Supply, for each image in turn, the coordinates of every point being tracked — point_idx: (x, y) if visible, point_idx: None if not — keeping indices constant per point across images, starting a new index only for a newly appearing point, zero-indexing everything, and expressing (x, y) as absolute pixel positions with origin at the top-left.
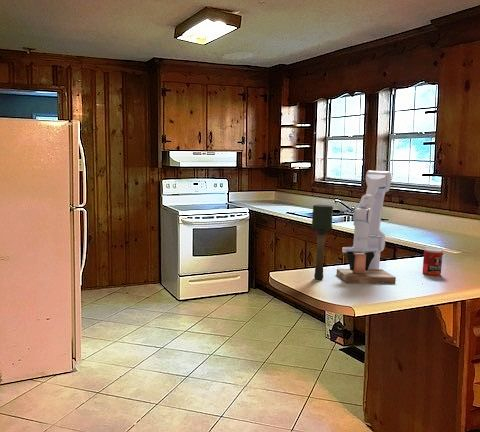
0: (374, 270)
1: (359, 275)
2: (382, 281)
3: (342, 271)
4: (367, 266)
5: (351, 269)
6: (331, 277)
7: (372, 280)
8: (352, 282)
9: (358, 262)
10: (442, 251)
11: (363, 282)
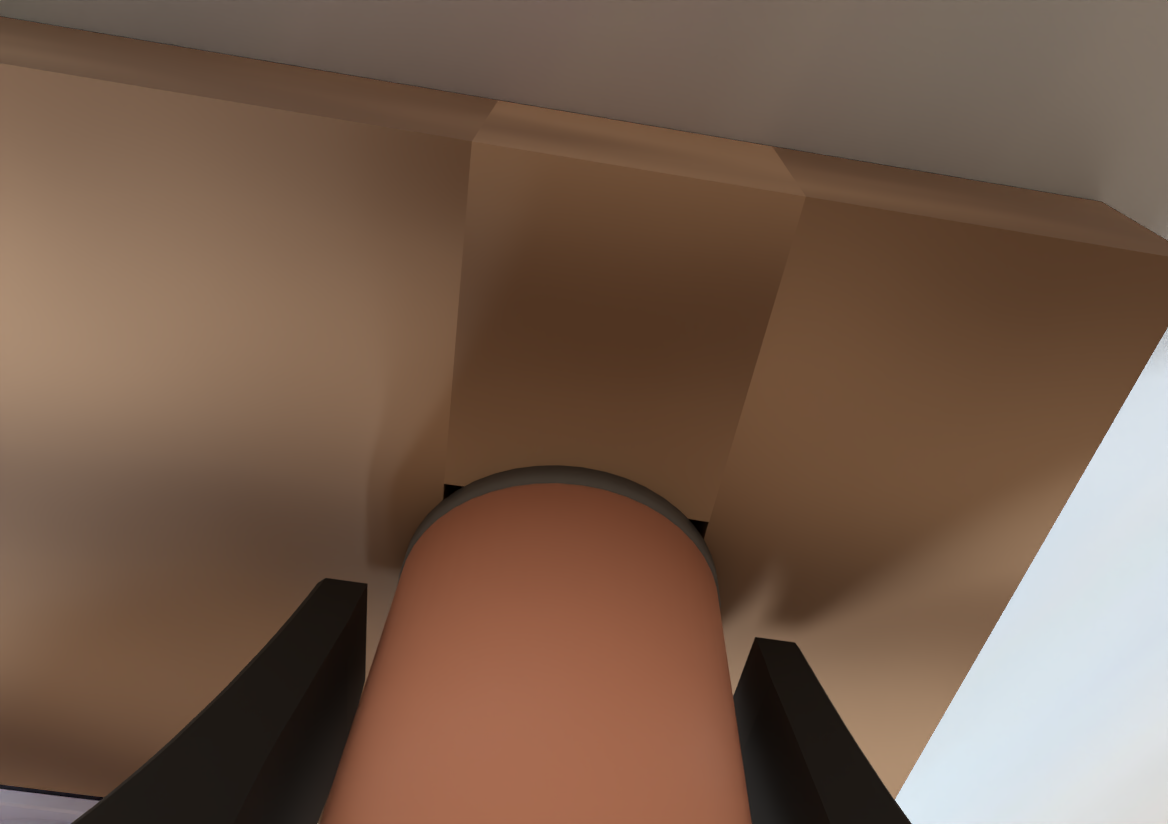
0: (63, 721)
1: (690, 376)
2: (71, 37)
3: (879, 737)
4: (305, 663)
5: (808, 664)
6: (1060, 656)
7: (382, 101)
8: (965, 185)
9: (686, 800)
10: None
11: (659, 130)
